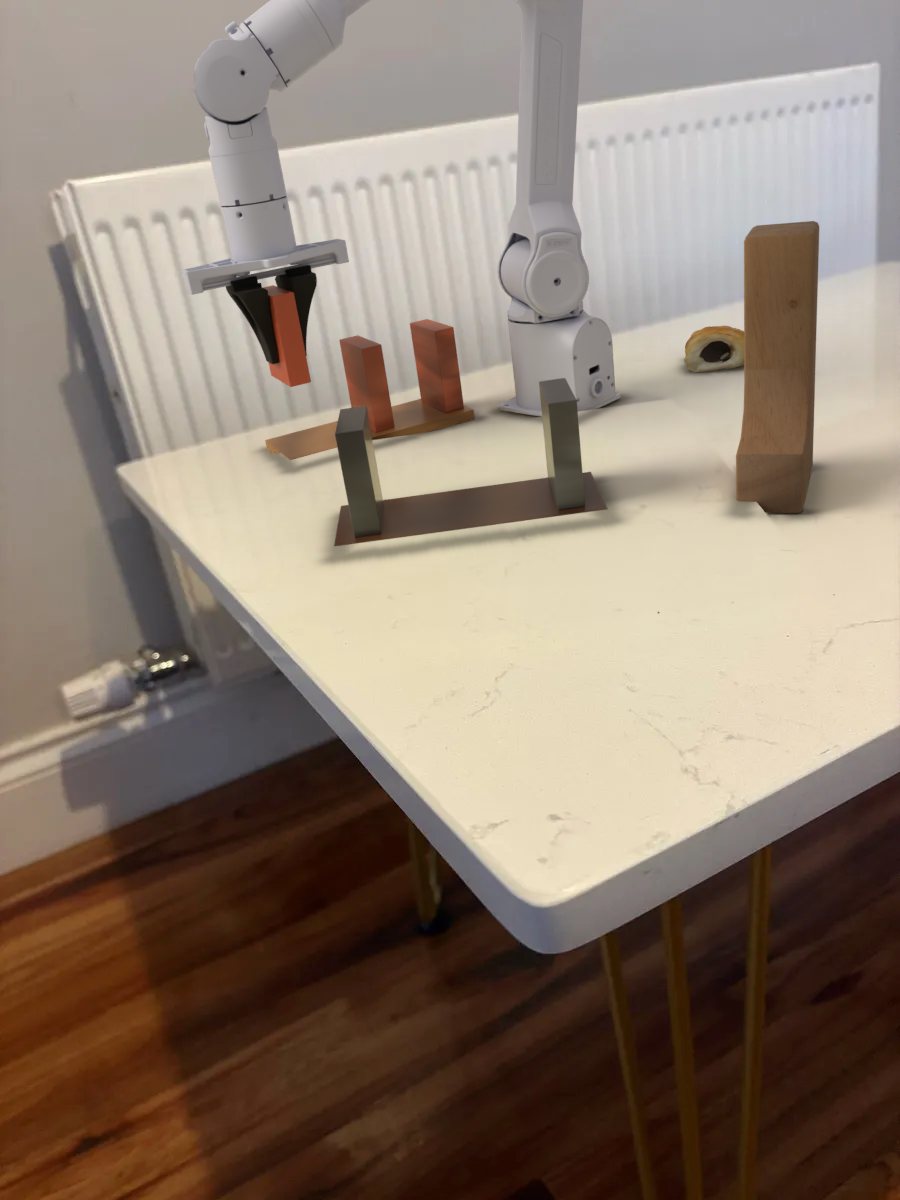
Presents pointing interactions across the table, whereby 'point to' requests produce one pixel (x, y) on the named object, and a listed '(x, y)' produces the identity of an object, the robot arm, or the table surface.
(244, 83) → the robot arm
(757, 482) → the wooden block
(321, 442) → the book rack
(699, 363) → the pastry
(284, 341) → the terracotta book
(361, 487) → the grey book stand
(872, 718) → the table surface
